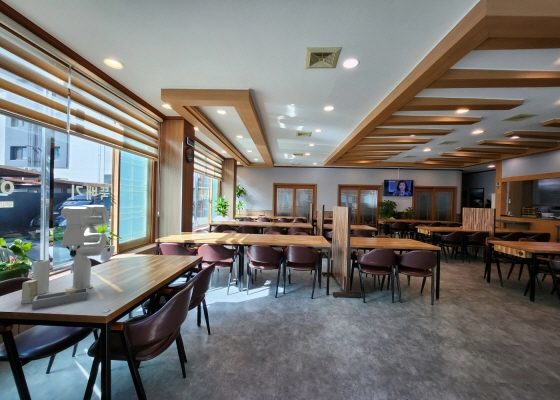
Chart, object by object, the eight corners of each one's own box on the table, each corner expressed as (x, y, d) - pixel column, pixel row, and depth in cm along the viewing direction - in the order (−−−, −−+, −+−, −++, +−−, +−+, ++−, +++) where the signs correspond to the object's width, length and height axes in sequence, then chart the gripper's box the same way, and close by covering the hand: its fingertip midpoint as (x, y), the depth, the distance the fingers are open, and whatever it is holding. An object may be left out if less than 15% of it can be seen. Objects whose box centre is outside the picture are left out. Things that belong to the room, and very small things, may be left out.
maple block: (65, 295, 147) (65, 289, 147) (75, 294, 149) (75, 287, 150) (64, 298, 143) (65, 291, 143) (74, 296, 146) (75, 289, 146)
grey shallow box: (35, 303, 141) (35, 295, 141) (87, 294, 156) (87, 287, 156) (32, 309, 133) (32, 301, 133) (87, 299, 148) (88, 291, 148)
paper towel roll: (30, 296, 152) (32, 262, 153) (33, 293, 157) (35, 260, 158) (46, 294, 156) (47, 260, 157) (48, 291, 161) (50, 259, 162)
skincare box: (30, 303, 141) (31, 282, 141) (20, 304, 140) (21, 282, 140) (37, 299, 147) (38, 279, 147) (28, 300, 146) (29, 279, 146)
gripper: (89, 226, 158) (88, 254, 158) (58, 227, 149) (57, 256, 149) (89, 227, 152) (88, 256, 152) (57, 228, 143) (56, 259, 143)
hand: (73, 256), depth 150 cm, fingers closed
